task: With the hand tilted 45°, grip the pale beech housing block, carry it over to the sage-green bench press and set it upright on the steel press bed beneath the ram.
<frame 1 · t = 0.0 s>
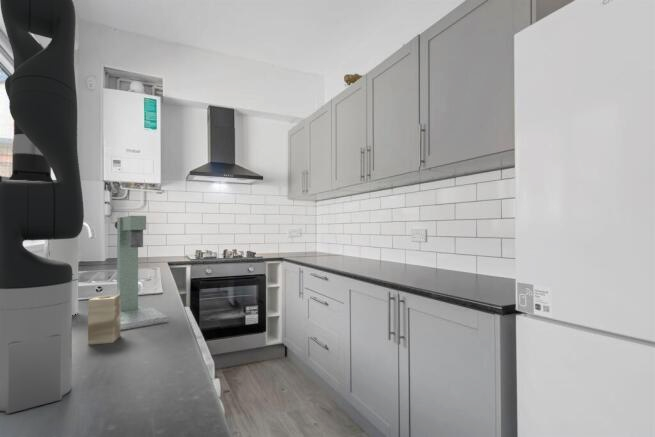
hand: (31, 218, 88), 29 cm above the counter, tool pointing down, fingers open, 8 cm apart
press: (136, 320, 99), on the counter
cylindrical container: (64, 315, 108), on the counter
housing: (104, 340, 81), on the counter
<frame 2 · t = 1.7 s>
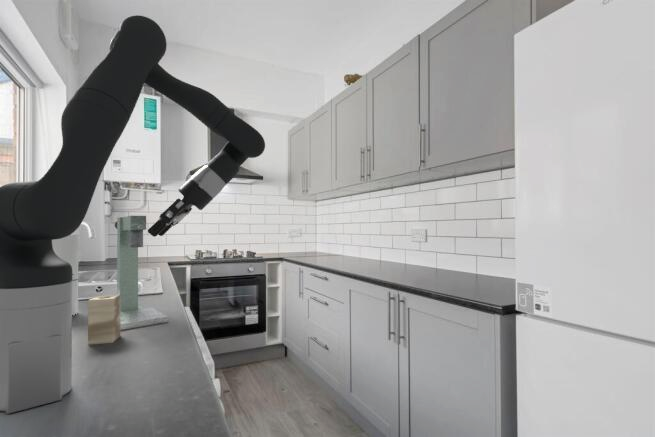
hand: (154, 234, 85), 25 cm above the counter, tool tilted 45°, fingers open, 8 cm apart
nothing on the counter moved.
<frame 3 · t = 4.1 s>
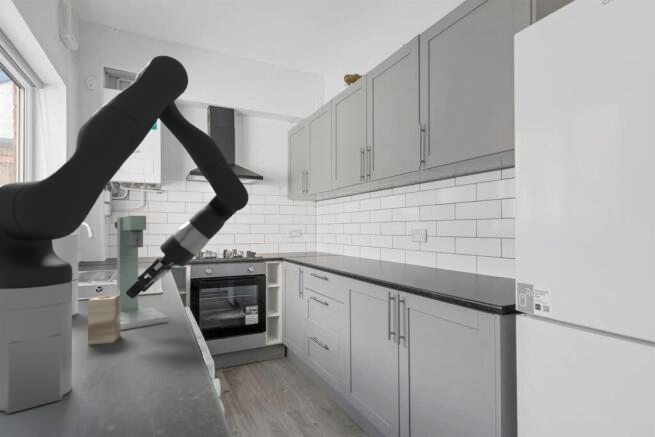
hand: (135, 292, 83), 11 cm above the counter, tool tilted 45°, fingers open, 8 cm apart
nothing on the counter moved.
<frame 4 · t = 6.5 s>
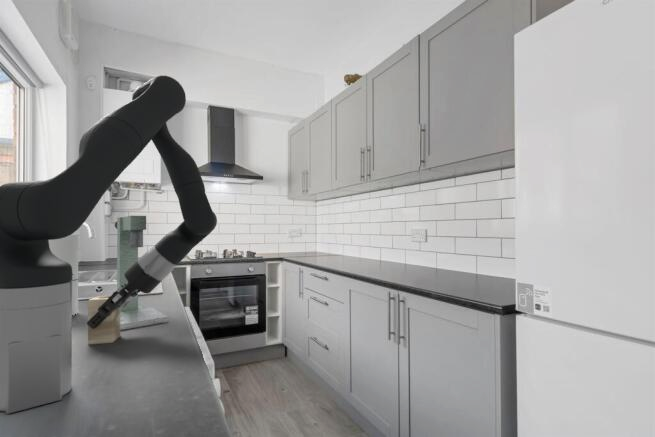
hand: (95, 322, 81), 4 cm above the counter, tool tilted 45°, fingers closed on housing, 5 cm apart
housing: (104, 340, 81), on the counter, touching gripper
everything else where it was.
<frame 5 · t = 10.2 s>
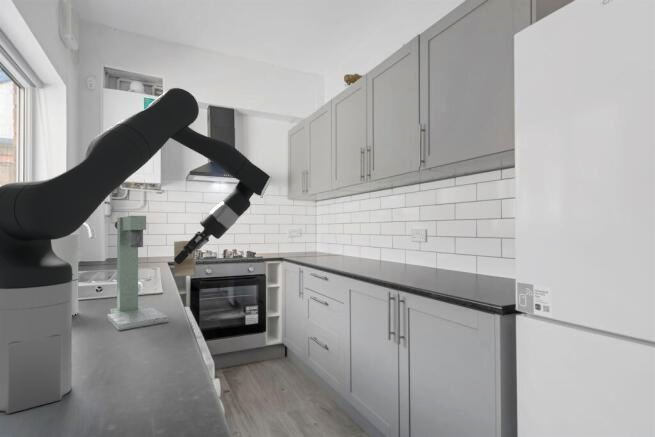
hand: (178, 261, 102), 17 cm above the counter, tool tilted 45°, fingers closed on housing, 5 cm apart
housing: (185, 275, 103), point 12 cm above the counter, touching gripper
everything else where it was.
when the fingers open (7 cm above the counter, at t = 13.7 s): housing stays where it is, resting on press.
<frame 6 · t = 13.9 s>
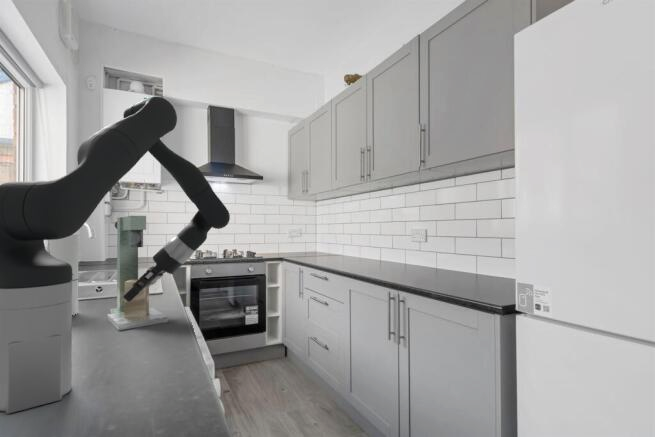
hand: (130, 296, 99), 7 cm above the counter, tool tilted 45°, fingers open, 6 cm apart
housing: (137, 315, 99), point 1 cm above the counter, touching press
everything else where it was.
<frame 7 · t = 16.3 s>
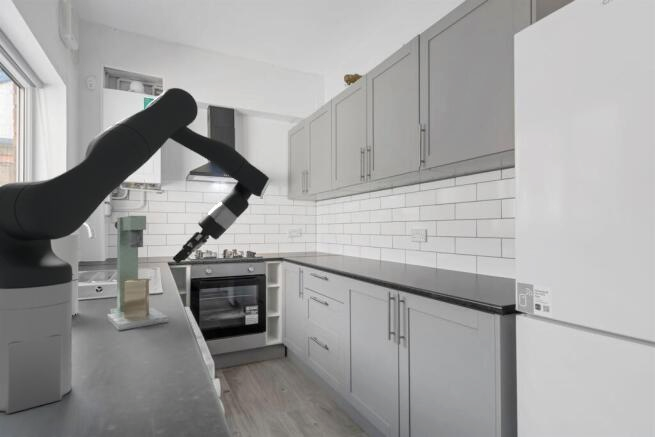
hand: (178, 259, 103), 17 cm above the counter, tool tilted 45°, fingers open, 8 cm apart
nothing on the counter moved.
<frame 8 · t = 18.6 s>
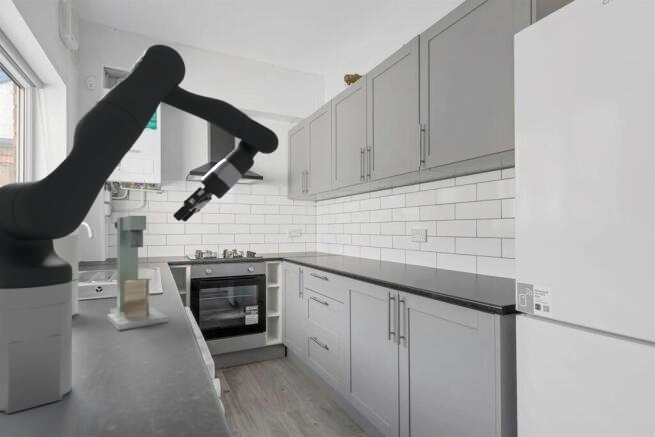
hand: (179, 219, 96), 29 cm above the counter, tool tilted 45°, fingers open, 8 cm apart
nothing on the counter moved.
at the end: housing 0.1 cm off-centre on the press, point 1.5 cm above the press's base; housing tilted 0°; the gripper is holding nothing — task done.
